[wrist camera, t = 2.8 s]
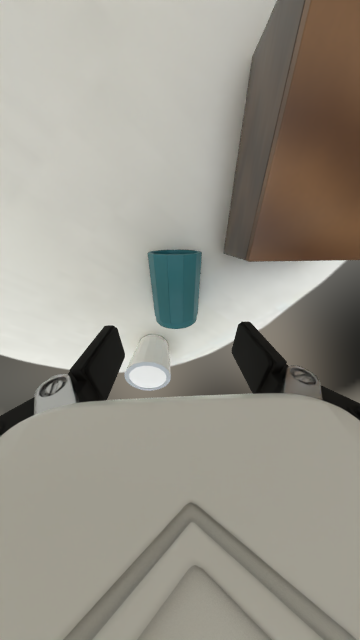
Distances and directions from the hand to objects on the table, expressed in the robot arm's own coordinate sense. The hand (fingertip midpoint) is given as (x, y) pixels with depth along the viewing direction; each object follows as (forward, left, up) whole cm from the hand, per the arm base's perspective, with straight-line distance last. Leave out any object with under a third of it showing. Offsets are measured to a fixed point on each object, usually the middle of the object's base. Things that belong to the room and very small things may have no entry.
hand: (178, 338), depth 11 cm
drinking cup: (-1, 0, -12) cm, 12 cm away
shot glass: (+11, -5, -12) cm, 17 cm away
